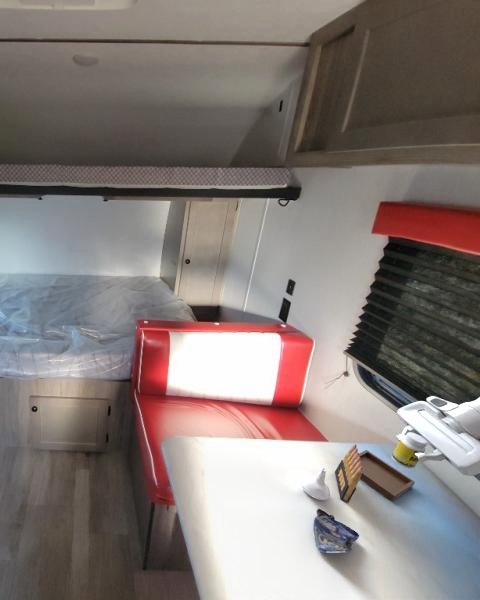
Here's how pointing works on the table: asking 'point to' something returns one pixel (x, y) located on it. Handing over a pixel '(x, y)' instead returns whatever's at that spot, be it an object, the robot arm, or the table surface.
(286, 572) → the table surface
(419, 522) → the table surface
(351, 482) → the ammunition clip
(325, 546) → the snack package
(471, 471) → the robot arm
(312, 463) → the table surface
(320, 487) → the white funnel
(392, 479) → the tray
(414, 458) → the supplement bottle
